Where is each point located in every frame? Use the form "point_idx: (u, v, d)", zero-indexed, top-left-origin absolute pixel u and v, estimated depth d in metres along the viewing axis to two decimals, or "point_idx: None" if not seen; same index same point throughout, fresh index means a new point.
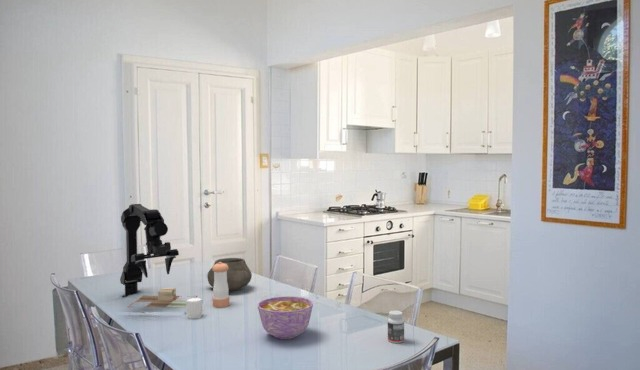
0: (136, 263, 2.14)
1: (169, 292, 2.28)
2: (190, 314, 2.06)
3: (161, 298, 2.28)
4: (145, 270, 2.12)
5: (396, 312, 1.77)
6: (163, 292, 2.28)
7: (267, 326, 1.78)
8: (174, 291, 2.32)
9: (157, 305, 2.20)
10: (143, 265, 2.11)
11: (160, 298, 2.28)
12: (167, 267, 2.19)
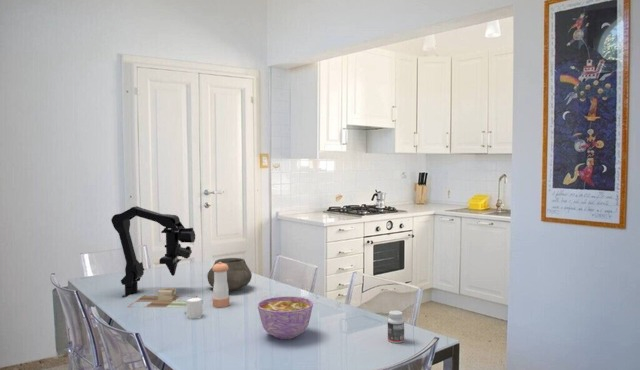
0: None
1: (169, 292, 2.28)
2: (190, 314, 2.06)
3: (161, 298, 2.28)
4: (174, 269, 2.39)
5: (396, 312, 1.77)
6: (163, 292, 2.28)
7: (267, 326, 1.78)
8: (174, 291, 2.32)
9: (157, 305, 2.20)
10: (175, 265, 2.38)
11: (160, 298, 2.28)
12: None
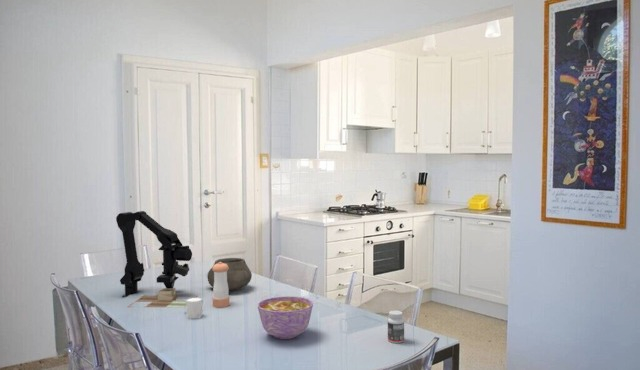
0: None
1: (169, 292, 2.28)
2: (190, 314, 2.06)
3: (161, 298, 2.28)
4: (172, 287, 2.35)
5: (396, 312, 1.77)
6: (163, 292, 2.28)
7: (267, 326, 1.78)
8: (174, 291, 2.32)
9: (157, 305, 2.20)
10: (172, 283, 2.34)
11: (160, 298, 2.28)
12: None
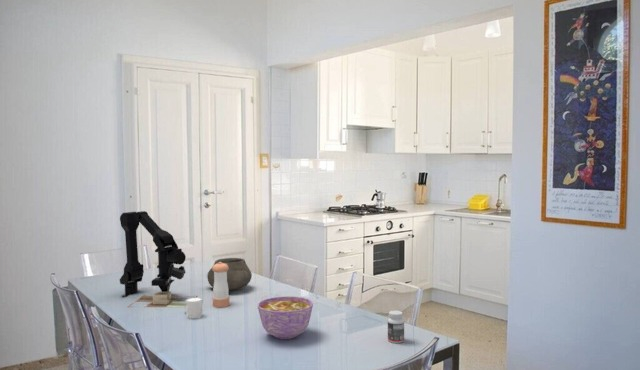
0: None
1: (164, 296, 2.22)
2: (190, 314, 2.06)
3: (156, 302, 2.22)
4: (167, 290, 2.29)
5: (396, 312, 1.77)
6: (158, 296, 2.22)
7: (267, 326, 1.78)
8: (169, 295, 2.26)
9: (157, 305, 2.20)
10: (168, 286, 2.28)
11: (155, 302, 2.22)
12: None
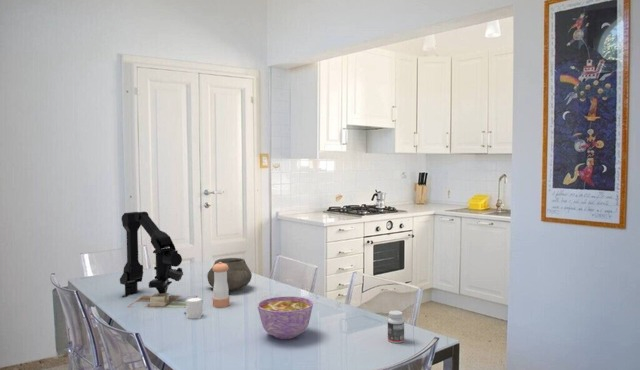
0: None
1: (162, 298, 2.19)
2: (190, 314, 2.06)
3: (153, 304, 2.19)
4: (165, 292, 2.26)
5: (396, 312, 1.77)
6: (155, 298, 2.19)
7: (267, 326, 1.78)
8: (167, 296, 2.23)
9: None
10: (165, 288, 2.25)
11: (152, 304, 2.19)
12: None
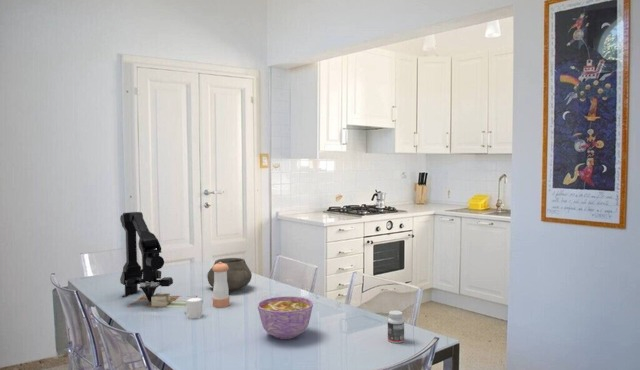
0: (154, 288, 2.19)
1: (163, 298, 2.19)
2: (190, 314, 2.06)
3: (155, 304, 2.19)
4: None
5: (396, 312, 1.77)
6: (157, 298, 2.19)
7: (267, 326, 1.78)
8: (168, 296, 2.23)
9: None
10: None
11: (154, 304, 2.19)
12: None
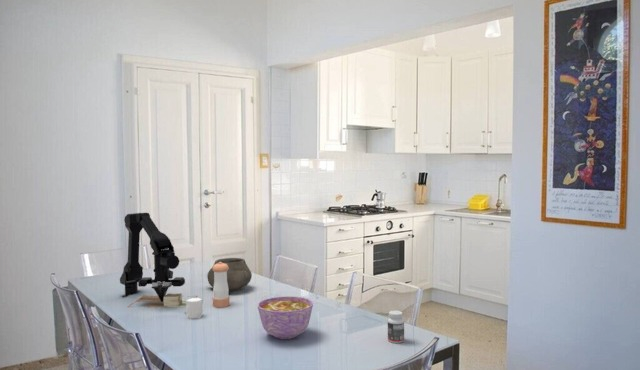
0: (166, 288, 2.19)
1: (175, 298, 2.18)
2: (190, 314, 2.06)
3: (167, 304, 2.19)
4: None
5: (396, 312, 1.77)
6: (169, 298, 2.19)
7: (267, 326, 1.78)
8: (180, 297, 2.23)
9: (157, 305, 2.20)
10: None
11: (166, 304, 2.19)
12: None
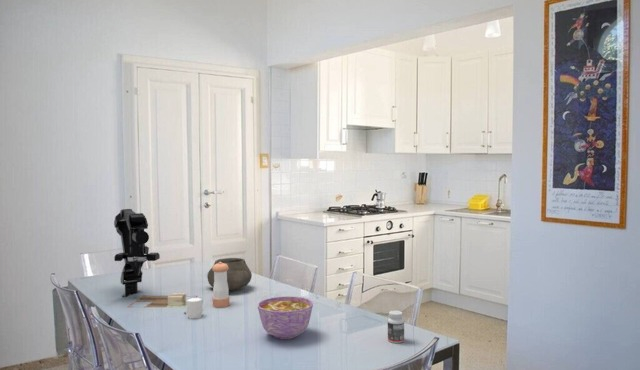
0: (141, 262, 2.28)
1: (179, 298, 2.18)
2: (190, 314, 2.06)
3: (171, 304, 2.19)
4: None
5: (396, 312, 1.77)
6: (173, 298, 2.18)
7: (267, 326, 1.78)
8: (184, 297, 2.23)
9: (157, 305, 2.20)
10: None
11: (170, 304, 2.19)
12: None
